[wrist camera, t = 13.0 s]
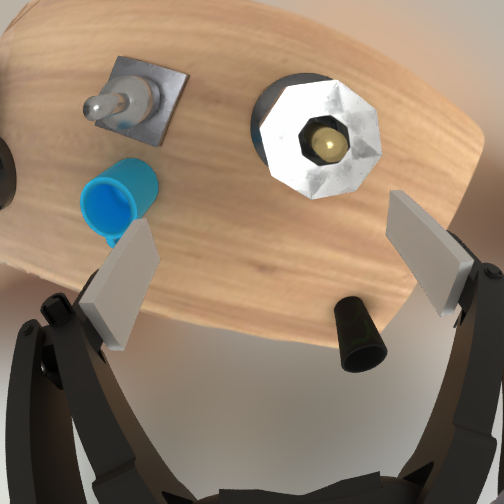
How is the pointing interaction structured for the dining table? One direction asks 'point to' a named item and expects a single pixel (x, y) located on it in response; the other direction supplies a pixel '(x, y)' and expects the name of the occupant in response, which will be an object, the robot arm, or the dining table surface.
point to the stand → (137, 100)
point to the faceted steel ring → (315, 168)
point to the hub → (314, 131)
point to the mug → (118, 198)
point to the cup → (357, 336)
